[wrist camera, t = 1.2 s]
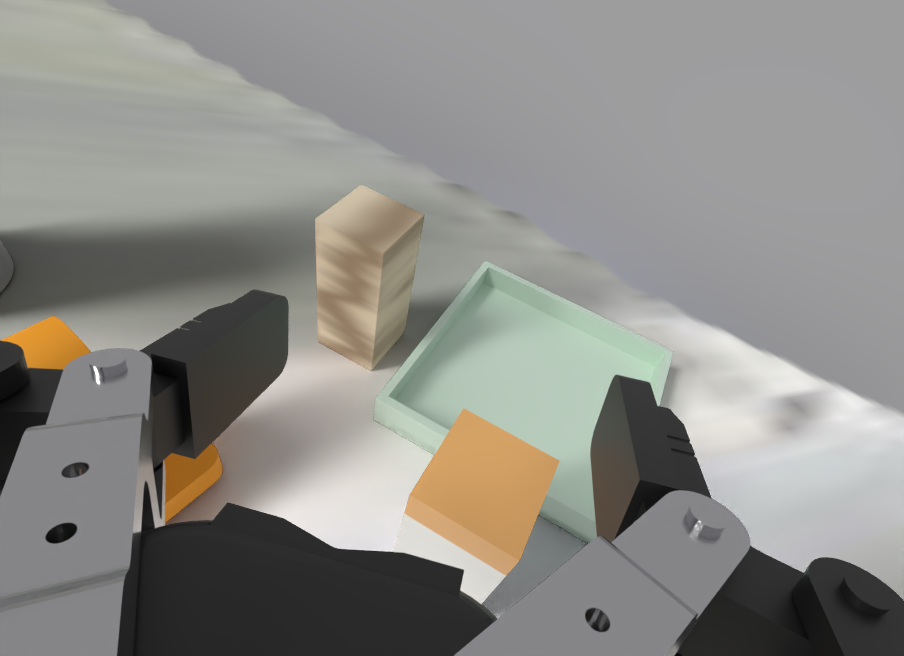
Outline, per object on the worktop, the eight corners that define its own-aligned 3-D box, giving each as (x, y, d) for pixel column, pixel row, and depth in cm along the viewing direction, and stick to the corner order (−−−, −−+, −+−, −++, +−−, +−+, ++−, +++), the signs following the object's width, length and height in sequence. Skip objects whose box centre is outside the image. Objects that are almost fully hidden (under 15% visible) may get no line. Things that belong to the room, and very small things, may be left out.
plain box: (318, 341, 40) (315, 218, 31) (354, 305, 43) (361, 184, 34) (371, 371, 39) (383, 252, 30) (404, 331, 42) (424, 214, 33)
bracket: (231, 476, 32) (194, 361, 23) (117, 570, 27) (16, 472, 18) (130, 379, 35) (62, 244, 26) (12, 449, 30) (-117, 315, 22)
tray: (373, 419, 36) (375, 397, 34) (478, 282, 48) (485, 260, 46) (605, 553, 33) (624, 538, 31) (657, 370, 44) (673, 351, 42)
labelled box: (385, 579, 29) (409, 495, 20) (427, 507, 33) (463, 408, 24) (460, 627, 28) (519, 560, 20) (495, 548, 32) (559, 460, 23)
